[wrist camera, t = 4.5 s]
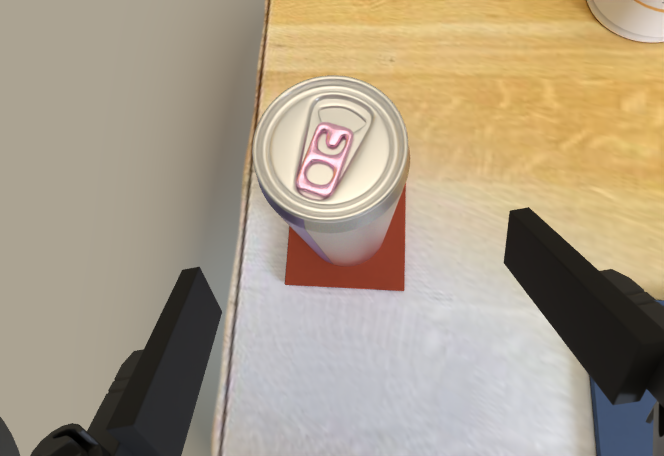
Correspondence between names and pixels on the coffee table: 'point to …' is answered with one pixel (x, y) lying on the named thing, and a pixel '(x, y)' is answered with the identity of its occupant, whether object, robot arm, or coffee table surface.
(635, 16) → the mug
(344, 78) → the beverage can
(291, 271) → the terracotta mat
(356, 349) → the coffee table surface
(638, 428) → the slate-blue mat
